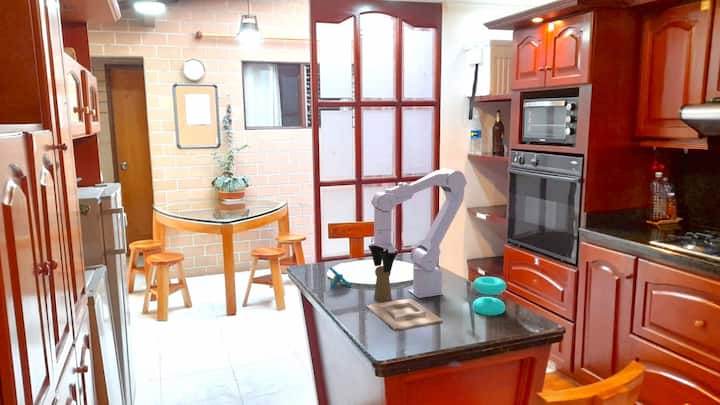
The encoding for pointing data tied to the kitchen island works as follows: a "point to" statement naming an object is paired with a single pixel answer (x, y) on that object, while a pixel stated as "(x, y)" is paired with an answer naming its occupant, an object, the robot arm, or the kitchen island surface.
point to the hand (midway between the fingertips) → (382, 268)
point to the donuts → (489, 303)
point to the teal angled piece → (337, 278)
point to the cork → (382, 285)
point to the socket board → (403, 314)
